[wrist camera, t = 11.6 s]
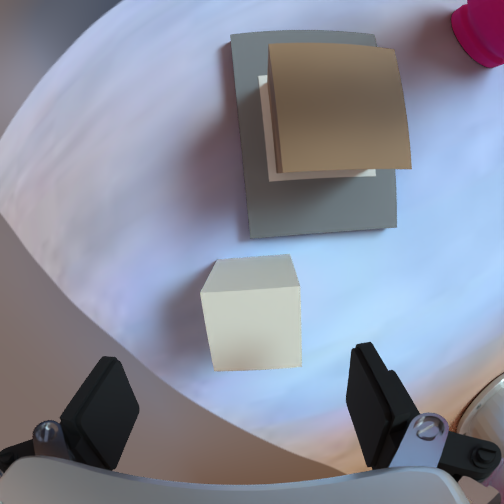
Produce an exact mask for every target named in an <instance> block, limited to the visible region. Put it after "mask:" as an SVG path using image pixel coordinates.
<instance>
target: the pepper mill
mask: <svg viewBox="0 0 504 504" xmlns="http://www.w3.org/2000/svg"><path fill="white" fill-rule="evenodd" d="M451 23H452V28H453V31H454V34H455V36H456V38H457V39H458V41H459V43H460V44H461V46H462V47H463V49H464V50H465V51H466V52H467V53H468V54H469V55H470V57H471V58H473V59H474V60H475V61H476V62H478V63H479V64H481V65H483V66H485V67H489V68H493V67H496V66H499V65H502V64H504V0H467V4H465V5H462V6H461V7H460V8H458V9H457V10H455V11H454V12H453V14H452V17H451Z"/></svg>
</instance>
